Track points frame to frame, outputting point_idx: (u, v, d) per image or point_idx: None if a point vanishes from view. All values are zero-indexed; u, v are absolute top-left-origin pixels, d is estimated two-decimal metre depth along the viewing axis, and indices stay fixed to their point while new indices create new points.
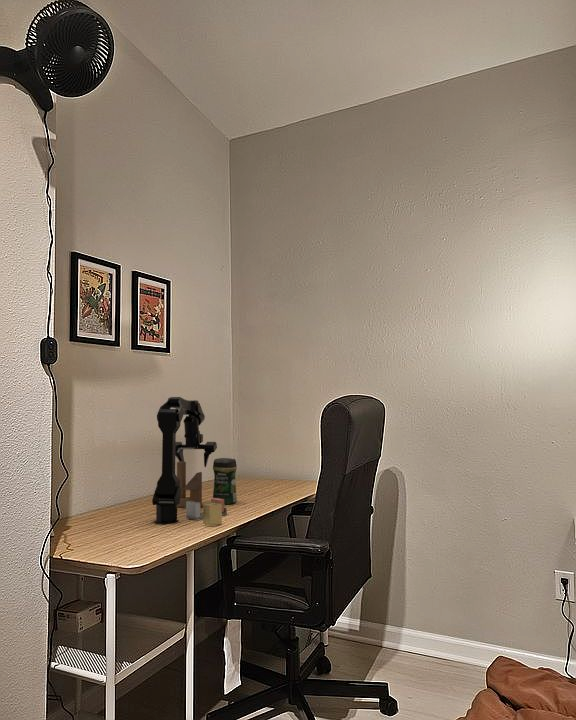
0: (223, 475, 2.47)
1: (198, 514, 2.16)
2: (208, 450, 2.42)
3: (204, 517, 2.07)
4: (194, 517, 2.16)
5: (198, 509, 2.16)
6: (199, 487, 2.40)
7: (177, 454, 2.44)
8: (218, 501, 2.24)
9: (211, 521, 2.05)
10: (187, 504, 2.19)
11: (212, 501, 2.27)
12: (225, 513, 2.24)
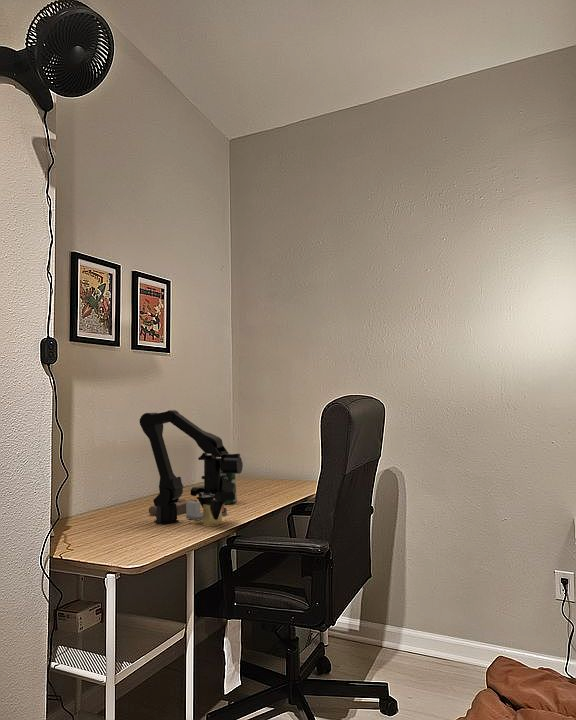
0: (223, 475, 2.47)
1: (198, 514, 2.16)
2: (217, 498, 2.01)
3: (204, 517, 2.07)
4: (194, 517, 2.16)
5: (198, 509, 2.16)
6: None
7: (199, 499, 2.09)
8: None
9: (211, 521, 2.05)
10: (187, 504, 2.19)
11: None
12: (225, 513, 2.24)
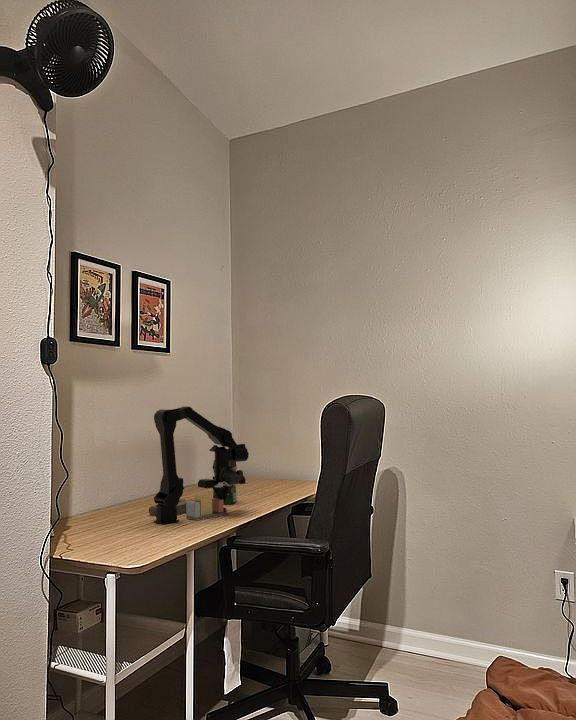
0: None
1: (198, 514, 2.16)
2: None
3: None
4: (194, 517, 2.16)
5: (198, 509, 2.16)
6: None
7: None
8: (217, 501, 2.24)
9: (202, 511, 2.19)
10: (187, 504, 2.19)
11: None
12: (225, 513, 2.24)
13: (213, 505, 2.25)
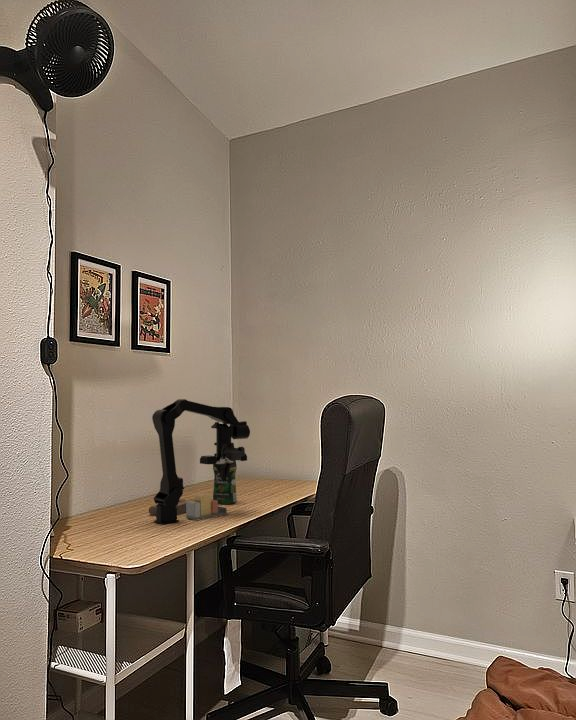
0: None
1: (198, 514, 2.16)
2: None
3: None
4: (194, 517, 2.16)
5: (198, 509, 2.16)
6: None
7: None
8: None
9: (202, 511, 2.19)
10: (187, 504, 2.19)
11: None
12: (225, 513, 2.24)
13: None
